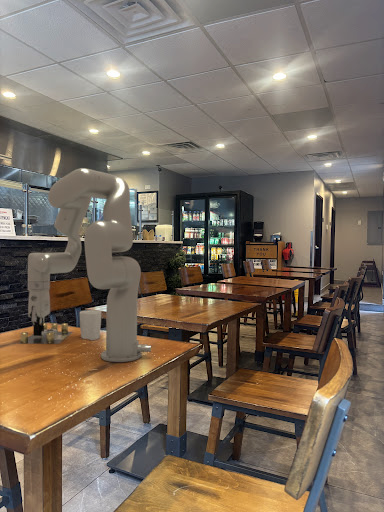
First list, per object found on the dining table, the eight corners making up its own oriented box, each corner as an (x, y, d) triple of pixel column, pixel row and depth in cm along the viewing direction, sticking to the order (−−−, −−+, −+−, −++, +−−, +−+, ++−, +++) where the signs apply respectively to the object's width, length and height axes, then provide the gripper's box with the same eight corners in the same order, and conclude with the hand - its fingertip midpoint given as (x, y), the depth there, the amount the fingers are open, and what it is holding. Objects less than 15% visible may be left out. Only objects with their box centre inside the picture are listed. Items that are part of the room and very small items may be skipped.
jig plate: (73, 333, 147) (73, 323, 146) (59, 345, 129) (59, 333, 128) (37, 333, 146) (37, 322, 146) (18, 345, 128) (18, 333, 128)
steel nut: (59, 335, 140) (59, 328, 140) (54, 338, 135) (54, 332, 135) (45, 335, 140) (45, 328, 140) (40, 338, 134) (40, 332, 134)
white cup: (98, 341, 135) (98, 314, 135) (76, 340, 135) (76, 313, 135) (103, 336, 143) (103, 310, 143) (83, 335, 143) (83, 309, 143)
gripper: (42, 288, 129) (41, 340, 130) (55, 284, 144) (55, 330, 145) (20, 288, 129) (19, 340, 129) (36, 283, 144) (35, 330, 144)
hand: (38, 335), depth 137 cm, fingers closed
